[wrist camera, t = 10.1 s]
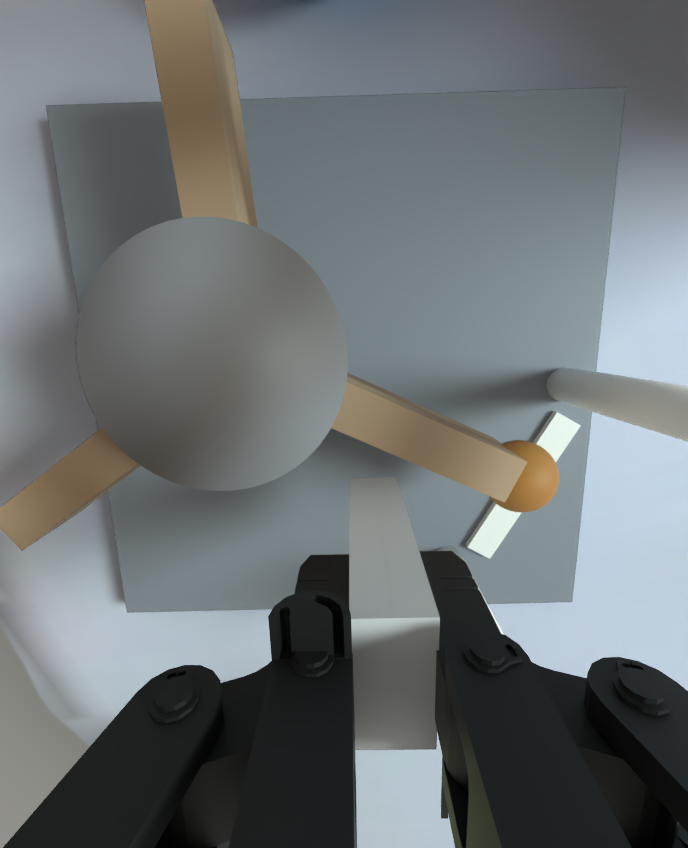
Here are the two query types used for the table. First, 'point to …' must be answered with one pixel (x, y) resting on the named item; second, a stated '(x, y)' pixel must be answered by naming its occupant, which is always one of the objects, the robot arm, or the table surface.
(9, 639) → the table surface
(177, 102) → the capstan
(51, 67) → the table surface
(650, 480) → the table surface
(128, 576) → the stand
